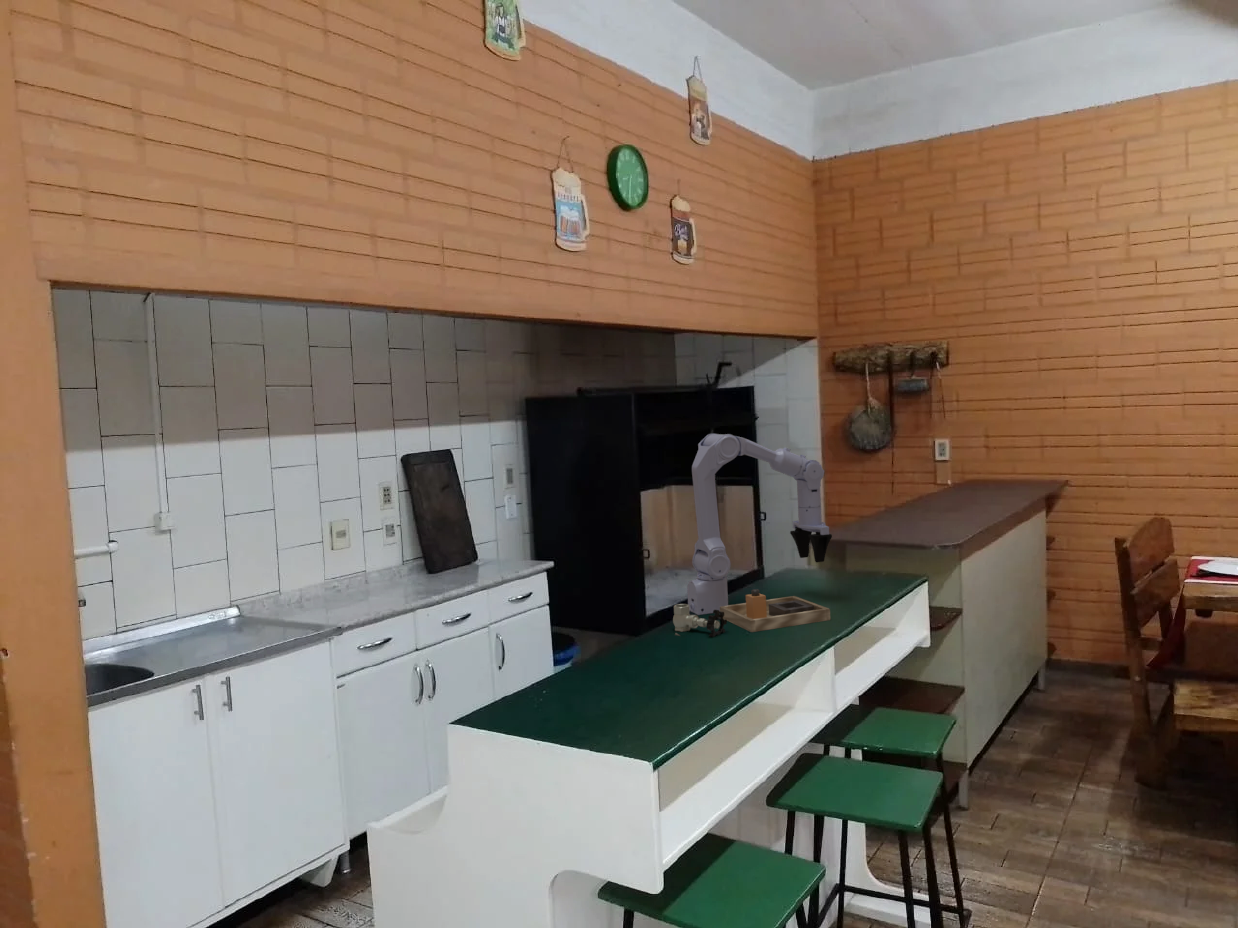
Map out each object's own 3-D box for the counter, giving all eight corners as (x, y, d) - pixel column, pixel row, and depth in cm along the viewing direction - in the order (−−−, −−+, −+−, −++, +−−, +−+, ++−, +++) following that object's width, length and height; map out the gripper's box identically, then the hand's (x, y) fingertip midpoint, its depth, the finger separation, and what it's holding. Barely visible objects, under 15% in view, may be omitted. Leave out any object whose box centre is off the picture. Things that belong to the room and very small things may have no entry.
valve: (666, 636, 209) (711, 643, 202) (665, 607, 209) (709, 613, 201) (684, 629, 214) (727, 636, 207) (682, 601, 214) (726, 606, 206)
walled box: (751, 636, 205) (750, 620, 204) (720, 621, 220) (719, 606, 219) (830, 623, 211) (829, 608, 211) (795, 609, 226) (794, 595, 226)
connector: (753, 623, 212) (752, 592, 211) (746, 620, 215) (745, 589, 214) (766, 621, 213) (765, 590, 212) (760, 618, 216) (758, 587, 215)
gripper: (838, 507, 230) (841, 561, 231) (808, 502, 243) (810, 553, 244) (813, 510, 227) (816, 565, 228) (784, 505, 241) (787, 556, 242)
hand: (811, 559), depth 236 cm, fingers open, 7 cm apart
